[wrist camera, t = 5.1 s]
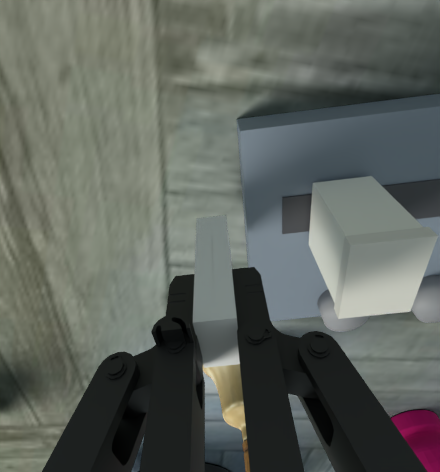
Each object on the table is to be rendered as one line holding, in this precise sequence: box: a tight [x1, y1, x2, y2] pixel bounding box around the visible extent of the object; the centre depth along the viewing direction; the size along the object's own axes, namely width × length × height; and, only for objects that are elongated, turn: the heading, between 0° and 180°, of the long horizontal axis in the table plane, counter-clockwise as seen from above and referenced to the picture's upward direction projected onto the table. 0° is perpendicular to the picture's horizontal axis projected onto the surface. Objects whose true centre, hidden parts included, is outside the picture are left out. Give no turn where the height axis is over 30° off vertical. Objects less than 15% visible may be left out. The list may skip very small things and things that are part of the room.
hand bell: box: [203, 364, 250, 472], centre depth 22 cm, size 8×8×16 cm
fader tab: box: [309, 176, 438, 319], centre depth 15 cm, size 3×4×5 cm
